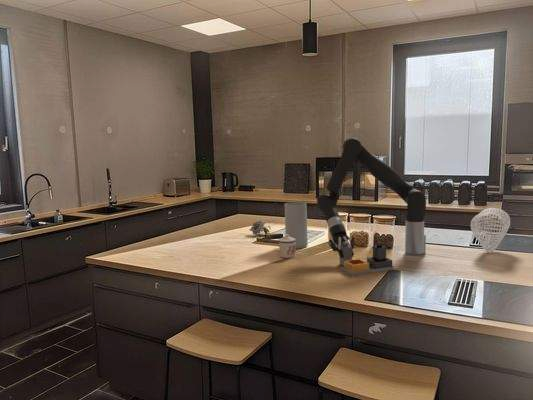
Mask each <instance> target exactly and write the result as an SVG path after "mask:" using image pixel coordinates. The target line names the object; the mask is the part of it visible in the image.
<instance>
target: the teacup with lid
mask: <svg viewBox="0 0 533 400" xmlns="http://www.w3.org/2000/svg"><path fill="white" fill-rule="evenodd" d="M278 246H279V249H278V252H279V253H278V255H279V257H280V258H282V259H283V258H284V259H292V258H295V257H296V255H297V254H296V249H295V247H296V240H295V238H292V237H290V236H289V235H288V234H286V233H285V234H284V236H283V237H281V238H278Z"/></svg>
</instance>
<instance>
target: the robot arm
mask: <svg viewBox="0 0 533 400" xmlns="http://www.w3.org/2000/svg"><path fill="white" fill-rule="evenodd" d="M342 144H343V145H342V154H341V157H340V160H339V162H338V163H337V164H336V165H337V166H336V167H335V169H334V171H332V172H333V173H332V174H331V176H330V178H329V180H328V182H327V184H326V188H325V189H326V190H327V191H328V192H329V194H328V195H327V194H324V193H323V194H319V196H318V197H317V199H316V203H317V206H318V209H319V210H320V211H321V213H322V215H323V216H324V218H325V221H326V224H327V226H328V227H327V229H328V230H329V233H330V236H331V238H332V239H329V240H328V242H327V244H328V245H329V247H330V248H331V250H332V251H333V252H338V256H339V259H340V258H341V259H342V258H343V257H344V255H343V252H342V250H341V247H340V246H341V245H343V242H348V245H349V246H351V247H352V258H353V257H354V255H355V253H354V248H355V246H356V244H355V237H354V236H351V237H349V236H348V234H347V231H346V229H345V226H344V223H343V221H342V219H341V216H340V215H339V211H338V210H337V209H336V208H335V207H336V206H337V204H338V198H339V193H340V190H341V188H342V186H343V184H344V181H345V180H346V177H347V176H348V175H347V174H348V172H349V170H350V168H351V166H352V165H353V163H354V161H355V160H356V161H357V162H358V163H360V164H361V165H362V167H364V168H365V170H366V171H367V172H368V173H369V174H370V175H371V176H373V177H374V178H375V179H376V180H377V181H378V182H380V183H381V184H383V185H384V186H385V187H387V188H388V189H390V190H392V191H393V192H394V193H396V194H397V195H398V196H399V197H400V198H401V200H403V201H404V203H405V204H406V214H405V230H404V231H405V234H404V236H405V239H404V240H405V243H404V244H405V248H404V249H405V250H404V252H405V253H406V254H408V255H411V256H413V255H414V256H419V255H423V254H425V253H426V251H427V249H426V246H427V245H426V244H427V243H426V240H427V236H426V234H425V217H426V213H427V212H426V211H427V198H426V194H424V193H423V192H422V191H421V190H419V189H416V188H414V187H413V186H411V185H410V184H409V183H407V182H406V181H405V180H404V179H403V178H402V177H401V176H400V174H398V172H397V171H396V170H395V169H394V168H393V167H391V166H390V165H389V164H388V163H387V162H385V161H384V160H382V159H380V158H379V157H377V156H376V155H374V154H372V152H370V151H369V150H368V149H367V148H366V147H364V145H363V144H362V143H361V141H360V140H359V139H358V138H355V137H349V138H347V139H346V140H344V142H343V143H342Z"/></svg>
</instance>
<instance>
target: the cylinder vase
mask: <svg viewBox="0 0 533 400" xmlns="http://www.w3.org/2000/svg"><path fill="white" fill-rule="evenodd" d="M284 228H285V229H284V230H285V235H286V234H288V235H289V236H290V237H292V238H295V240H296V247H295V250H301V249H305V248H307V247H308V245H309V244H308V243H309V242H308V210H307V203H306V202H302V201H294V202H293V201H292V202H291V201H290V202H286V203H284Z"/></svg>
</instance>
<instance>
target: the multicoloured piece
mask: <svg viewBox="0 0 533 400" xmlns="http://www.w3.org/2000/svg"><path fill="white" fill-rule="evenodd" d="M341 269H342V271H343V272H345V273H346V274H347V275H349V276H358V275H364V274H372V273H379V272H380V273H381V272H388V271H394V270H395V266H394V265H393V260H392V259H390V258H389V257H387V246H384V245H383V241H376V245H372V256H369V257H366V260H364V259H362V258H354V259H353V258H352V260H344V266H342V267H341Z"/></svg>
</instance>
